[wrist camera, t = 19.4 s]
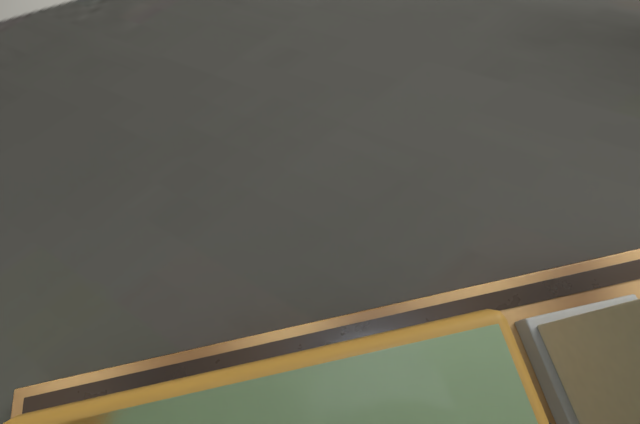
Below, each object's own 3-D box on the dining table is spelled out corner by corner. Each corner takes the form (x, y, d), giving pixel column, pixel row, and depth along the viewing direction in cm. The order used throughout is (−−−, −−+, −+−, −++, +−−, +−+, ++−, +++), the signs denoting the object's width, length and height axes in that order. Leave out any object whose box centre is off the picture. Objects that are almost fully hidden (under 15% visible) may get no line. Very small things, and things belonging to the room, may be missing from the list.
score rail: (8, 620, 12) (-140, 727, 8) (33, 388, 15) (-69, 392, 11) (767, 441, 12) (941, 468, 9) (649, 249, 15) (744, 210, 12)
